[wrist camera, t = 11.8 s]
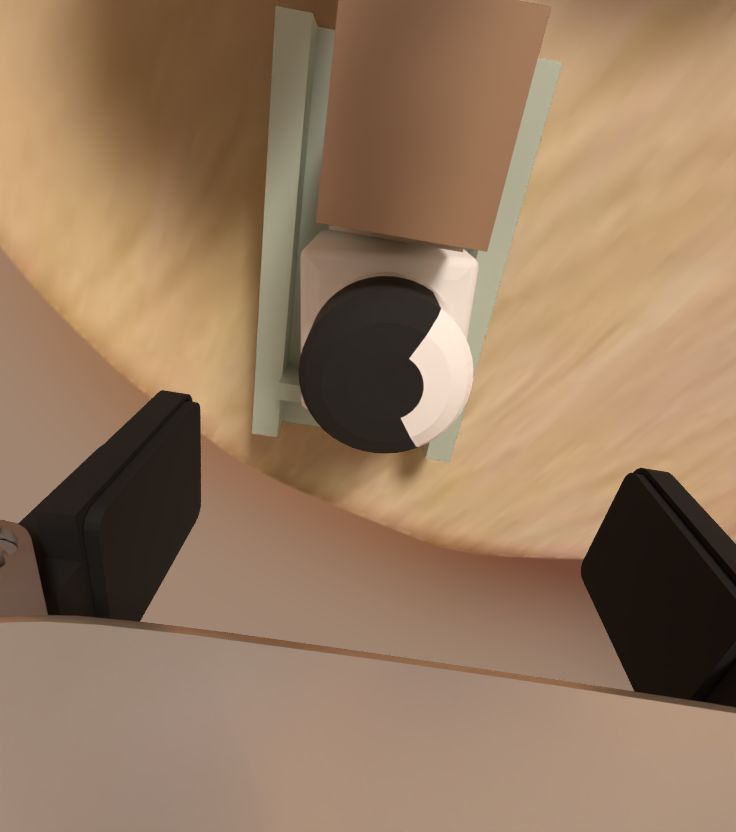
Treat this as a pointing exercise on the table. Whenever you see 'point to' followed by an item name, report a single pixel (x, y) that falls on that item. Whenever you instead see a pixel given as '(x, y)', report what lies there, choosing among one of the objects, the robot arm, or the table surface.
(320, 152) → the pale green rimmed tray
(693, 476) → the table surface
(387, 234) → the fitted walnut block
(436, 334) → the medicine bottle
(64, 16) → the table surface
